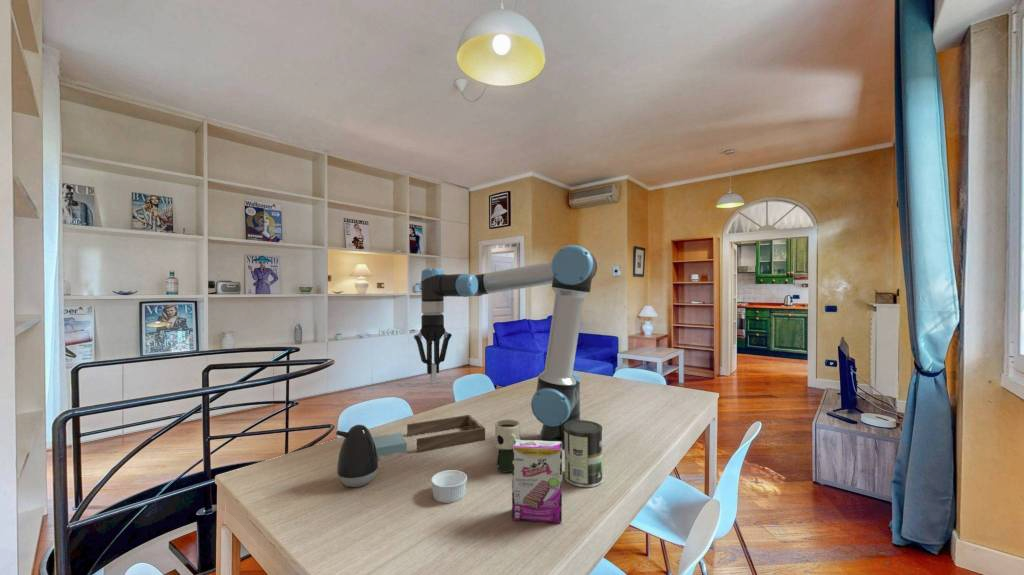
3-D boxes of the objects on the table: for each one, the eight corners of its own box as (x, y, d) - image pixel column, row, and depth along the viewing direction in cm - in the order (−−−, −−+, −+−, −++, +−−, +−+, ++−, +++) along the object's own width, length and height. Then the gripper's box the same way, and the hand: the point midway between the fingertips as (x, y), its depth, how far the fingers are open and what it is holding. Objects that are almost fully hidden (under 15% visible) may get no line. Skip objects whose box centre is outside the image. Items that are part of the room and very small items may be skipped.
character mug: (489, 463, 115) (489, 419, 115) (512, 459, 117) (512, 416, 117) (502, 480, 105) (502, 431, 105) (526, 475, 107) (526, 427, 107)
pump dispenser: (336, 477, 106) (336, 421, 106) (376, 470, 110) (376, 416, 110) (335, 495, 97) (335, 434, 97) (379, 487, 101) (379, 428, 101)
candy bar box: (511, 521, 86) (511, 447, 86) (513, 509, 91) (513, 438, 91) (562, 524, 85) (562, 448, 85) (562, 511, 90) (561, 440, 90)
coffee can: (598, 469, 111) (598, 419, 111) (606, 487, 100) (606, 433, 100) (561, 469, 111) (561, 419, 111) (566, 487, 100) (566, 432, 100)
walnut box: (485, 439, 133) (485, 428, 133) (417, 452, 123) (417, 439, 123) (469, 425, 147) (469, 414, 147) (407, 435, 137) (407, 424, 137)
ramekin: (435, 485, 102) (435, 469, 102) (469, 486, 101) (469, 469, 101) (427, 504, 93) (427, 486, 93) (464, 505, 93) (463, 487, 93)
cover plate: (406, 452, 124) (406, 442, 124) (370, 459, 119) (370, 449, 119) (400, 441, 133) (400, 432, 133) (366, 447, 128) (366, 438, 128)
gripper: (447, 312, 140) (448, 378, 139) (411, 314, 134) (411, 383, 134) (454, 313, 133) (454, 383, 133) (416, 315, 127) (416, 387, 127)
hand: (433, 383), depth 133 cm, fingers closed
